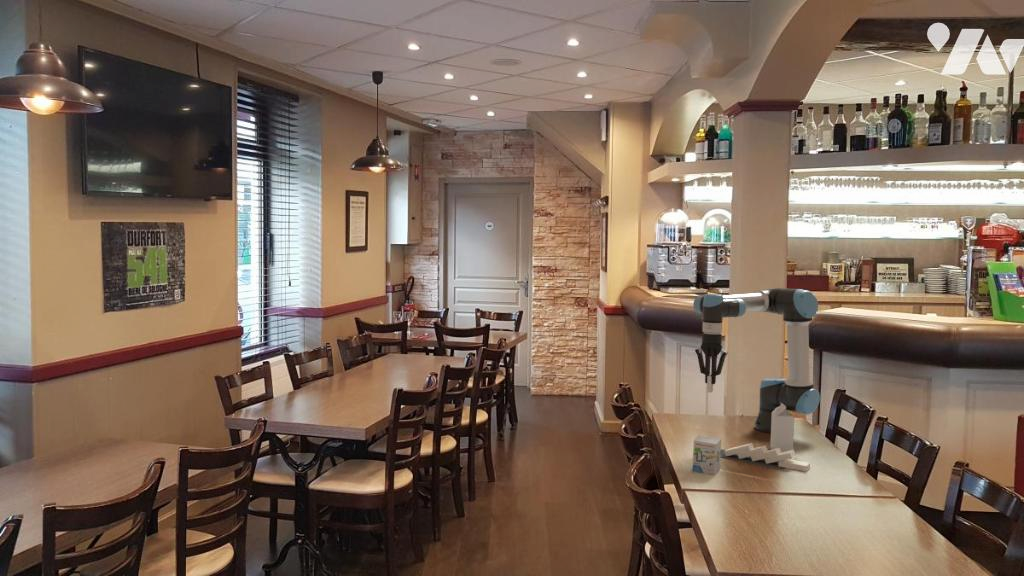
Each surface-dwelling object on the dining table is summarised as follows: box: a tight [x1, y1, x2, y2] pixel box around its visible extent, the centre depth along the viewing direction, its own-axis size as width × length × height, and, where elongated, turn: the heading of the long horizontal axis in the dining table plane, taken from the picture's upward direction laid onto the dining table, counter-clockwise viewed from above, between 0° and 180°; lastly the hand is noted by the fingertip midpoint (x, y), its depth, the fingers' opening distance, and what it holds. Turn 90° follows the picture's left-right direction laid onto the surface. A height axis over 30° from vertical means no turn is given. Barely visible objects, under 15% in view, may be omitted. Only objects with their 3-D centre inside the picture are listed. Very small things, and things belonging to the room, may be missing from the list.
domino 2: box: [751, 448, 782, 461], centre depth 277 cm, size 5×2×10 cm
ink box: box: [691, 435, 722, 476], centre depth 266 cm, size 9×8×12 cm
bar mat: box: [720, 448, 786, 471], centre depth 280 cm, size 12×28×1 cm, turn 55°
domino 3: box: [765, 449, 796, 464], centre depth 274 cm, size 5×2×10 cm
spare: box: [724, 442, 755, 456], centre depth 283 cm, size 5×2×10 cm
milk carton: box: [770, 403, 795, 453], centre depth 293 cm, size 7×7×19 cm
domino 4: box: [778, 458, 811, 472], centre depth 271 cm, size 5×2×10 cm
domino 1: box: [738, 445, 768, 459], centre depth 280 cm, size 5×2×10 cm
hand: (709, 391), depth 288 cm, fingers closed
